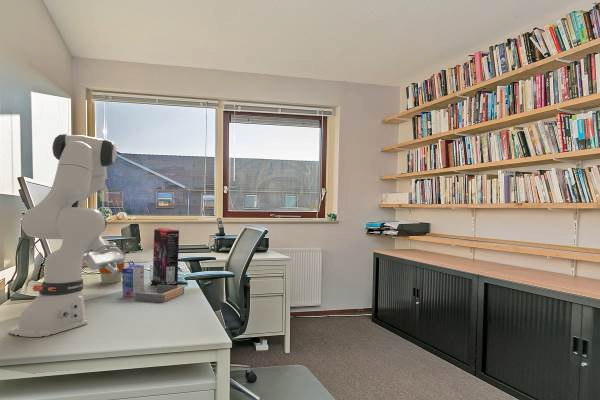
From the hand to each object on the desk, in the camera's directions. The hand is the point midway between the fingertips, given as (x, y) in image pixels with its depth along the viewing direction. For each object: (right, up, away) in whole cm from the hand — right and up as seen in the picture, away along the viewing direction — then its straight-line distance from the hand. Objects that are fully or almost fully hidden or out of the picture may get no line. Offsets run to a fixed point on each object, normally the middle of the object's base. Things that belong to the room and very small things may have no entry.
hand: (116, 272), depth 182 cm
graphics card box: (+16, -10, +19) cm, 26 cm away
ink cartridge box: (+9, -10, -2) cm, 13 cm away
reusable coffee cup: (-13, -9, +23) cm, 28 cm away
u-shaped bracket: (+22, -10, -6) cm, 24 cm away
